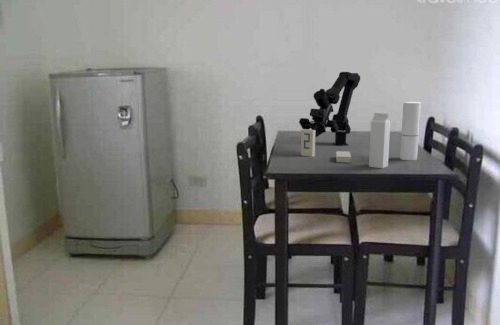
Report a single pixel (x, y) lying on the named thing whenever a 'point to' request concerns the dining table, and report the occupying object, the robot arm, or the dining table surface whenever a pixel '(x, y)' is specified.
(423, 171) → the dining table surface
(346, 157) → the tile one
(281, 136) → the dining table surface
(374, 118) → the milk
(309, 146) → the tile two
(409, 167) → the dining table surface
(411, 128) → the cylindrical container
